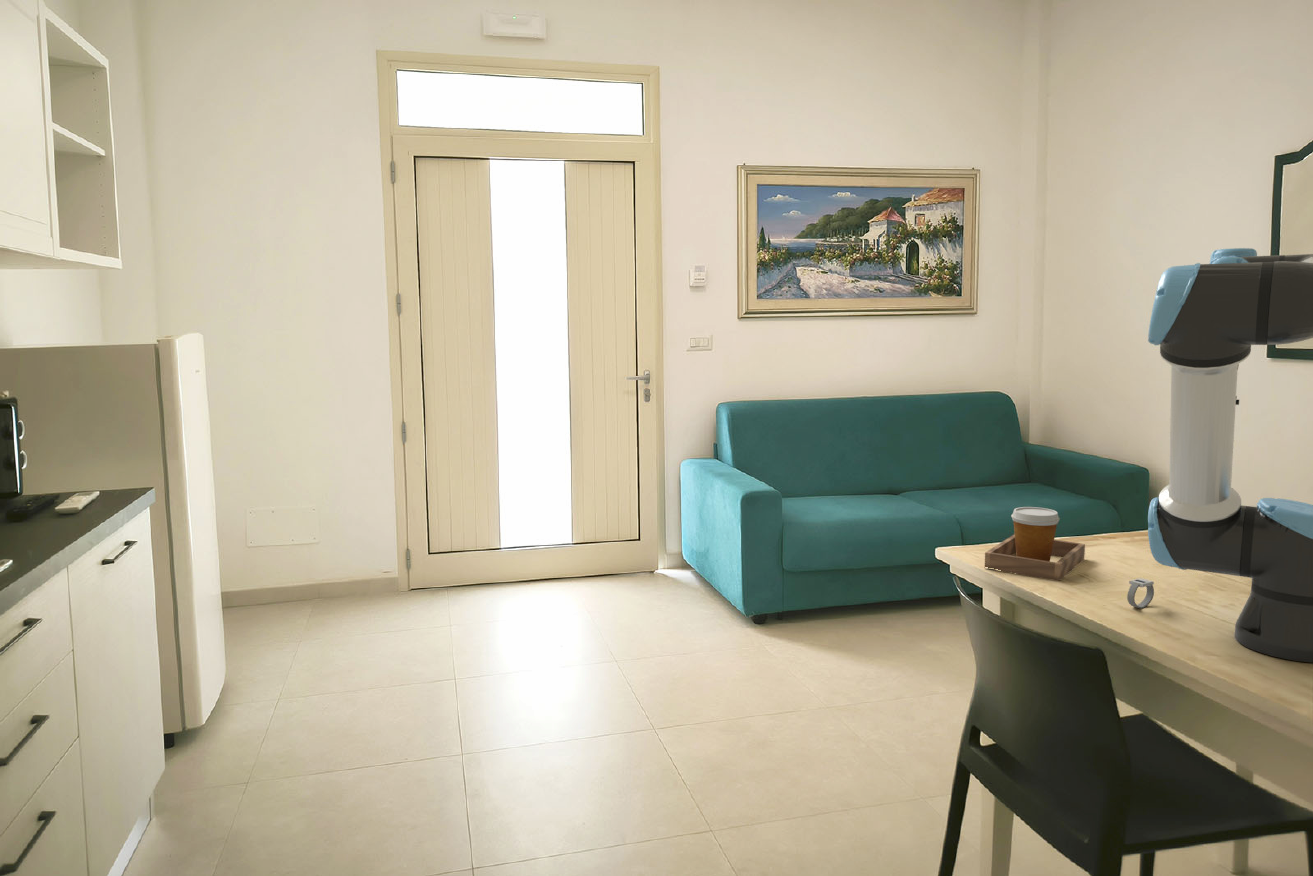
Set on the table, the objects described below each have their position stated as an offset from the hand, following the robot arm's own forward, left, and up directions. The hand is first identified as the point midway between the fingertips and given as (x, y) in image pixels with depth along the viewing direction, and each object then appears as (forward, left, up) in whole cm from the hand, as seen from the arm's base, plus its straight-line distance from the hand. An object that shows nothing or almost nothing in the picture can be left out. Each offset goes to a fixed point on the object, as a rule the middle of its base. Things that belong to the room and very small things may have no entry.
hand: (1219, 441), depth 172 cm
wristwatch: (-23, +8, -29) cm, 38 cm away
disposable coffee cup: (-7, +32, -29) cm, 43 cm away
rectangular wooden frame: (-5, +32, -29) cm, 43 cm away
